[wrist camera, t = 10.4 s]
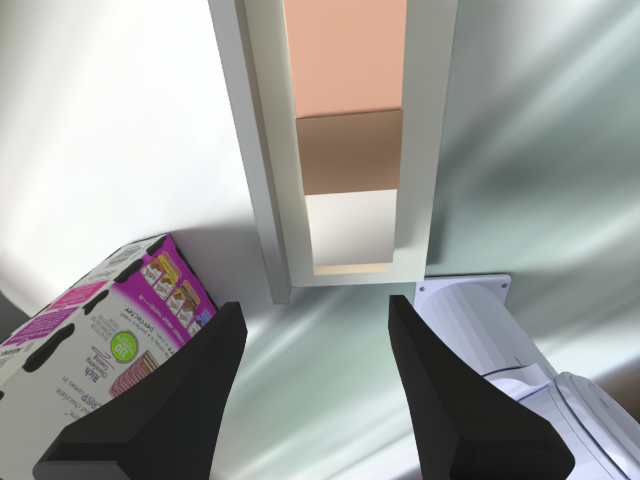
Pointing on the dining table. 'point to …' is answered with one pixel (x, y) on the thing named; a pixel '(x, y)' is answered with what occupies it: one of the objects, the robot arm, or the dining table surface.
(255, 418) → the dining table surface
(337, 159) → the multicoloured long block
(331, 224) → the white cube
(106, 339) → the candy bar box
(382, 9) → the salmon pink cube
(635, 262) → the dining table surface
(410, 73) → the dock
